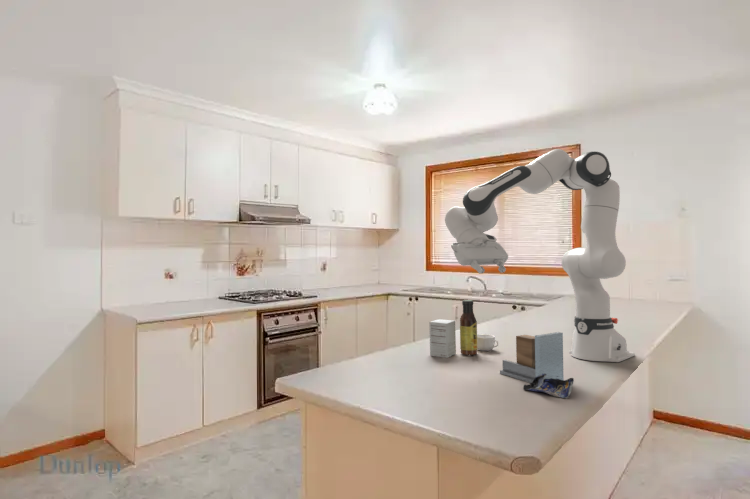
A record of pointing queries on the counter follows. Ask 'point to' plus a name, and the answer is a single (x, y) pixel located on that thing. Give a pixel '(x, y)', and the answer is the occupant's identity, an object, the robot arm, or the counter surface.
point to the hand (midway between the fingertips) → (493, 271)
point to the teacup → (486, 342)
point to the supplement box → (442, 338)
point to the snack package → (551, 386)
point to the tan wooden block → (525, 350)
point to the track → (540, 360)
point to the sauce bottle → (468, 329)
